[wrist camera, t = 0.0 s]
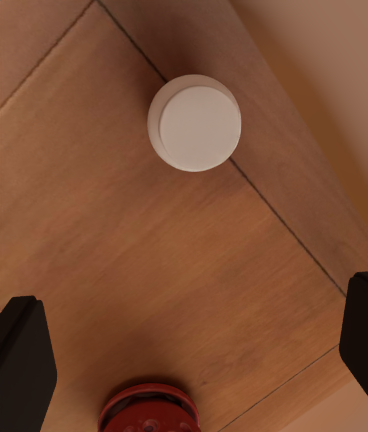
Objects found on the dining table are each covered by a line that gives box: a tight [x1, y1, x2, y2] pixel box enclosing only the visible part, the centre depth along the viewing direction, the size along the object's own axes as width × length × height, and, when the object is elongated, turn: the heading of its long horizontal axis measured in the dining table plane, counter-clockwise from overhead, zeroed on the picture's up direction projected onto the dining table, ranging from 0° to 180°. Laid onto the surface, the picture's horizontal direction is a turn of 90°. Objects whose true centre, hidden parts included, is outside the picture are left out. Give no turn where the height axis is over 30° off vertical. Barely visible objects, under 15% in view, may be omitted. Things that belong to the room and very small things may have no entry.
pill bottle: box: [147, 74, 241, 172], centre depth 24 cm, size 6×6×11 cm
